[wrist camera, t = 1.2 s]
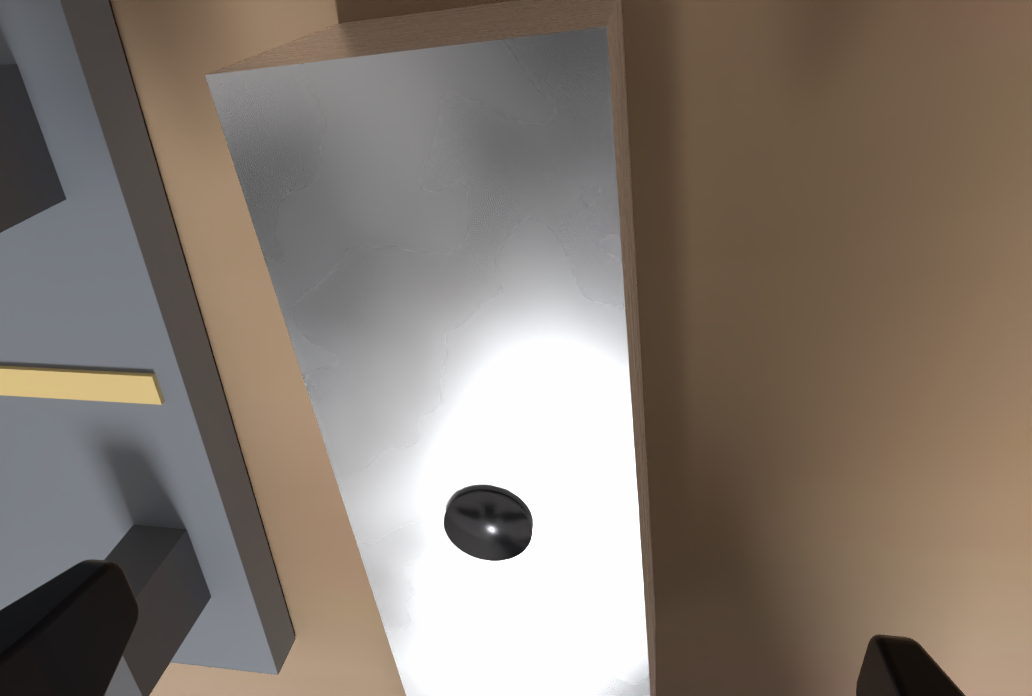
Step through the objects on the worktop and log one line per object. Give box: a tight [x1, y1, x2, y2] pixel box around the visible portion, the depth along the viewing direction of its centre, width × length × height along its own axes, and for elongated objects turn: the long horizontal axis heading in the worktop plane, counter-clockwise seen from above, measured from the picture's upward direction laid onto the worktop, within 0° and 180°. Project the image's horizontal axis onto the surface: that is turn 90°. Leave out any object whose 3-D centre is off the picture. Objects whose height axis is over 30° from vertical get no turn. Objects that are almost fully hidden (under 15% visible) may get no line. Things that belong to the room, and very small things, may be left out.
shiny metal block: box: [205, 0, 656, 696], centre depth 12 cm, size 12×4×4 cm, turn 8°
